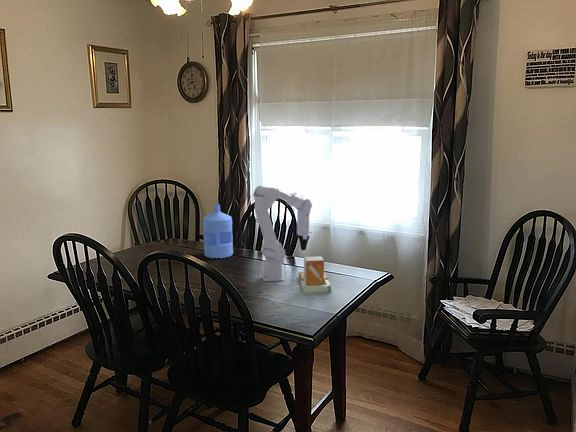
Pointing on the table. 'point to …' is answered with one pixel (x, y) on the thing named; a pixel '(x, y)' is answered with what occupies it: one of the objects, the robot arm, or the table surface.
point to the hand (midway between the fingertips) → (303, 249)
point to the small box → (314, 271)
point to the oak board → (301, 276)
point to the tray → (316, 287)
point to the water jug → (218, 234)
